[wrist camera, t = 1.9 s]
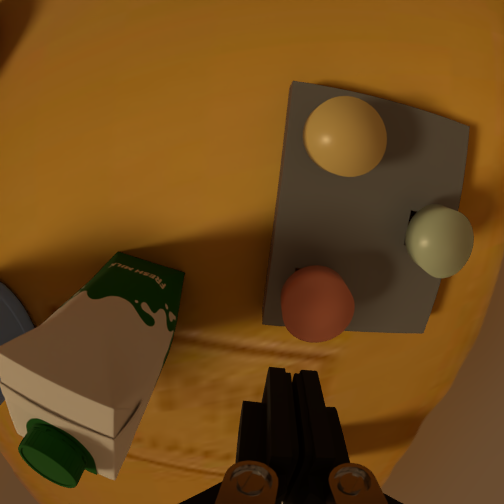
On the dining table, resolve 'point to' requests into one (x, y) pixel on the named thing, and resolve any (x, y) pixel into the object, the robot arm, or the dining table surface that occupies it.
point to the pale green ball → (439, 240)
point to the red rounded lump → (316, 304)
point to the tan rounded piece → (345, 136)
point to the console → (364, 212)
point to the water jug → (11, 319)
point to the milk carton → (91, 370)
